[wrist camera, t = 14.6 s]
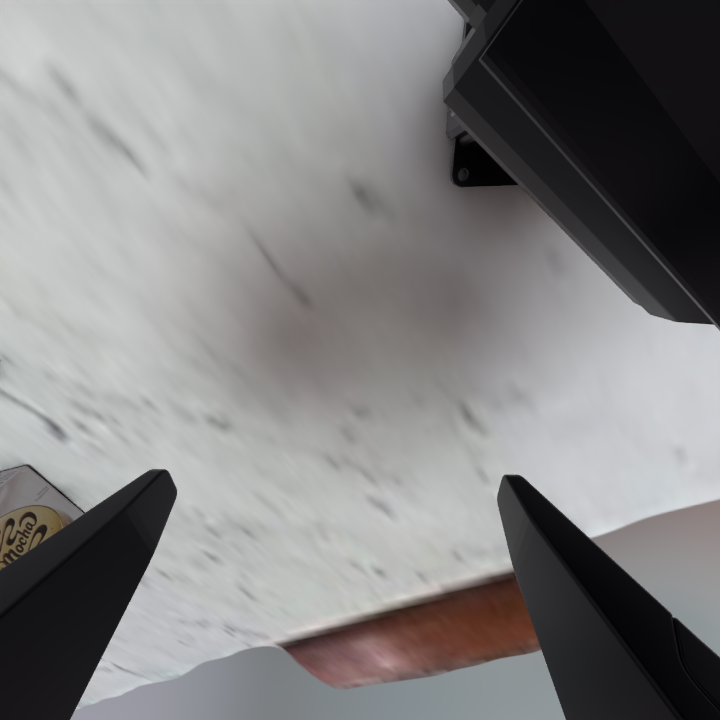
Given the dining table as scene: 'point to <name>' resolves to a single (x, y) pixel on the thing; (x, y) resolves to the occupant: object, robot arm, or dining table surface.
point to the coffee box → (29, 512)
